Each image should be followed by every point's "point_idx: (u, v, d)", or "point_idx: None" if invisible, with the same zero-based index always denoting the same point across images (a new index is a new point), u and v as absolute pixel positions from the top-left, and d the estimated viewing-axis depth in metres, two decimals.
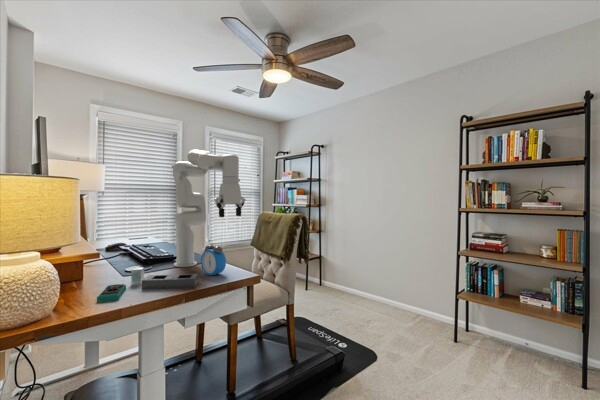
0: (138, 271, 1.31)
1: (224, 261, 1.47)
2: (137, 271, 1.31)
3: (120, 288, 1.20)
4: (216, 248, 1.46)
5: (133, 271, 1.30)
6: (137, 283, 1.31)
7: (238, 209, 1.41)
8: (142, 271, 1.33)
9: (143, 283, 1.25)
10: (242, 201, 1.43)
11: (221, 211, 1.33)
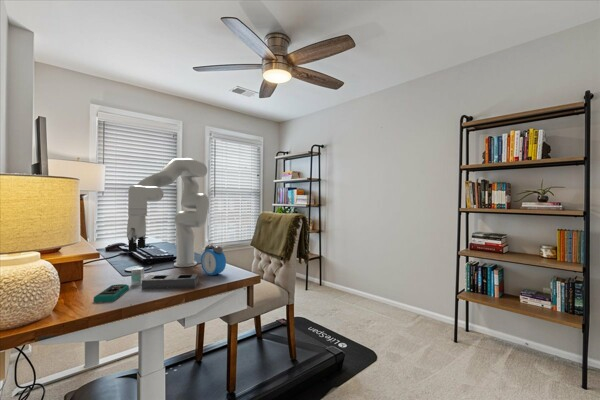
0: (138, 271, 1.31)
1: (224, 261, 1.47)
2: (137, 271, 1.31)
3: (120, 288, 1.19)
4: (216, 248, 1.46)
5: (133, 271, 1.30)
6: (137, 283, 1.31)
7: (142, 241, 1.36)
8: (142, 271, 1.33)
9: (143, 283, 1.25)
10: None
11: (133, 246, 1.27)
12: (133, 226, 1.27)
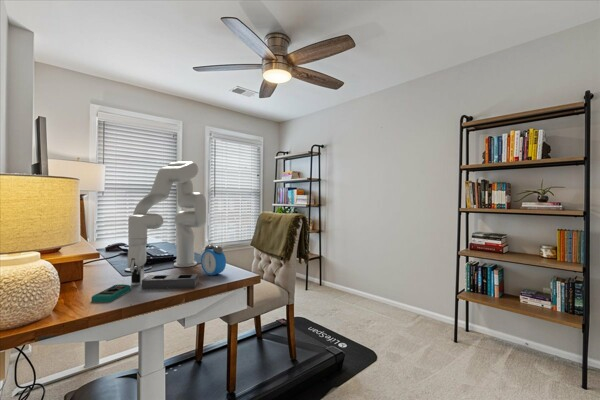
0: None
1: (224, 261, 1.47)
2: None
3: (121, 289, 1.19)
4: (216, 248, 1.46)
5: None
6: (137, 283, 1.31)
7: None
8: (142, 271, 1.33)
9: (143, 283, 1.25)
10: None
11: (136, 277, 1.30)
12: (133, 256, 1.28)
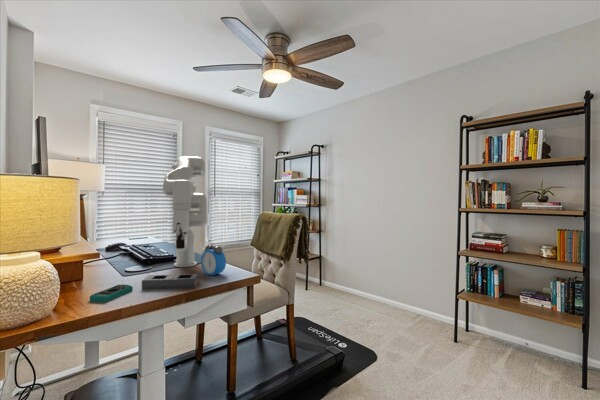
0: None
1: (224, 261, 1.47)
2: None
3: (120, 289, 1.18)
4: (216, 248, 1.46)
5: None
6: (181, 249, 1.29)
7: None
8: (186, 237, 1.31)
9: (143, 283, 1.25)
10: None
11: (181, 242, 1.28)
12: (179, 221, 1.26)
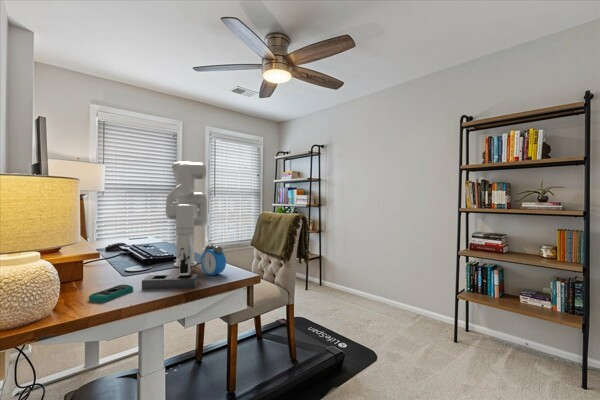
0: None
1: (224, 261, 1.47)
2: None
3: (120, 290, 1.18)
4: (216, 248, 1.46)
5: None
6: (185, 273, 1.29)
7: None
8: (189, 261, 1.31)
9: (143, 283, 1.25)
10: None
11: (185, 267, 1.28)
12: (183, 246, 1.26)
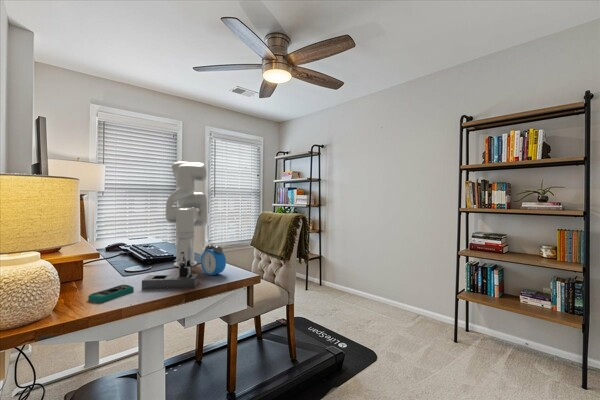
0: None
1: (224, 261, 1.47)
2: None
3: (120, 290, 1.17)
4: (216, 248, 1.46)
5: None
6: None
7: (187, 266, 1.34)
8: (189, 270, 1.31)
9: (143, 283, 1.25)
10: None
11: (184, 271, 1.27)
12: (183, 250, 1.26)
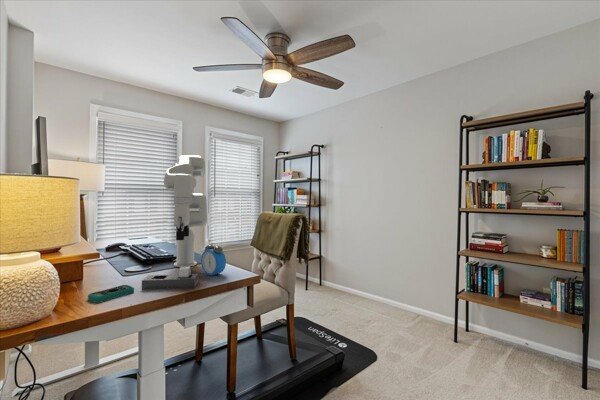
0: (186, 270, 1.29)
1: (224, 261, 1.47)
2: (185, 270, 1.29)
3: (119, 290, 1.17)
4: (216, 248, 1.46)
5: (181, 270, 1.29)
6: None
7: (186, 229, 1.37)
8: (189, 270, 1.31)
9: (143, 283, 1.25)
10: None
11: (181, 234, 1.27)
12: (180, 214, 1.27)
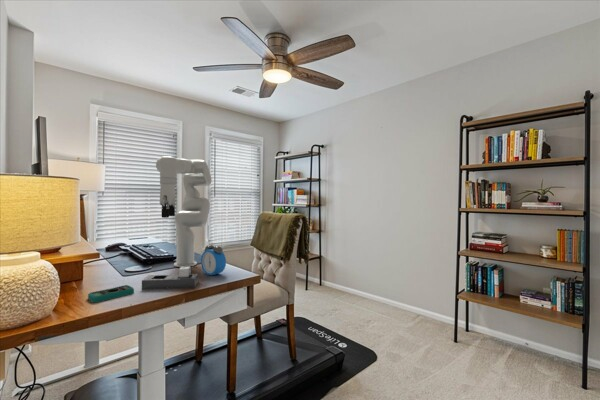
0: (186, 270, 1.29)
1: (224, 261, 1.47)
2: (185, 270, 1.29)
3: (118, 291, 1.16)
4: (216, 248, 1.46)
5: (181, 270, 1.29)
6: None
7: (172, 209, 1.46)
8: (189, 270, 1.31)
9: (143, 283, 1.25)
10: None
11: (166, 211, 1.36)
12: (165, 193, 1.37)
